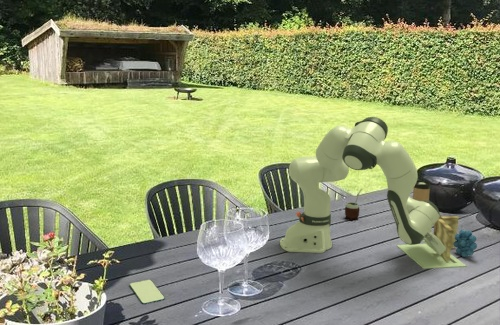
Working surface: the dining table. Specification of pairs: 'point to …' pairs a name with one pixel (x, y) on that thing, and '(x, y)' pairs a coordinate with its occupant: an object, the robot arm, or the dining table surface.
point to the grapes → (465, 243)
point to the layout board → (429, 257)
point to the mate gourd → (352, 210)
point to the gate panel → (445, 237)
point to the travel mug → (421, 191)
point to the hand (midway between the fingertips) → (437, 251)
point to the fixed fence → (453, 223)
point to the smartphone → (146, 291)
